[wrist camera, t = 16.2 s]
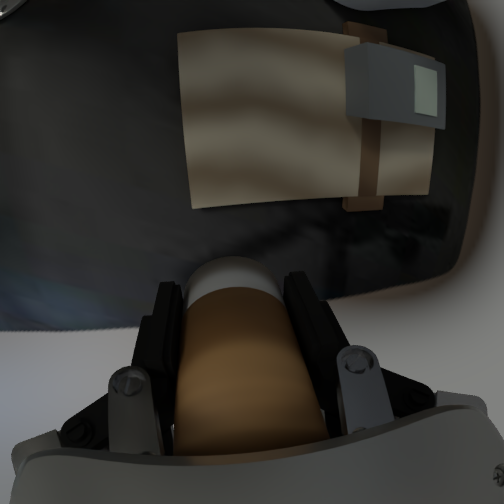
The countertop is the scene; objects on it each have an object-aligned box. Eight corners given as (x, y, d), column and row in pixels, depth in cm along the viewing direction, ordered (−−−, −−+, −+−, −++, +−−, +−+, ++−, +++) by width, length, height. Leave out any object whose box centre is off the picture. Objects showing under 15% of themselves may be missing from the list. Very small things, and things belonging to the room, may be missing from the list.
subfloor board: (178, 21, 17) (176, 17, 16) (426, 45, 19) (434, 44, 18) (195, 219, 26) (194, 225, 25) (419, 203, 28) (426, 208, 27)
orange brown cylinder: (177, 260, 11) (153, 432, 5) (280, 252, 11) (347, 411, 5) (191, 335, 13) (190, 481, 7) (277, 328, 13) (316, 467, 7)
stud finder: (343, 49, 18) (368, 41, 15) (417, 65, 19) (446, 64, 15) (345, 115, 21) (370, 119, 18) (417, 123, 22) (446, 130, 18)
